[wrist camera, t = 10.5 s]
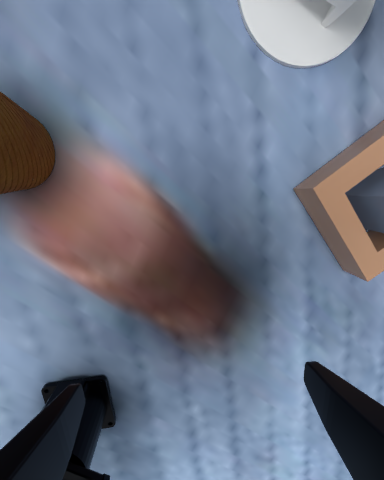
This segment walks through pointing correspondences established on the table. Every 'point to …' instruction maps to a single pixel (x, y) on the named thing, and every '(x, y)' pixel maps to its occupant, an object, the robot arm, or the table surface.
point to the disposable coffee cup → (22, 149)
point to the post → (369, 201)
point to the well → (347, 205)
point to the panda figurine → (304, 28)
